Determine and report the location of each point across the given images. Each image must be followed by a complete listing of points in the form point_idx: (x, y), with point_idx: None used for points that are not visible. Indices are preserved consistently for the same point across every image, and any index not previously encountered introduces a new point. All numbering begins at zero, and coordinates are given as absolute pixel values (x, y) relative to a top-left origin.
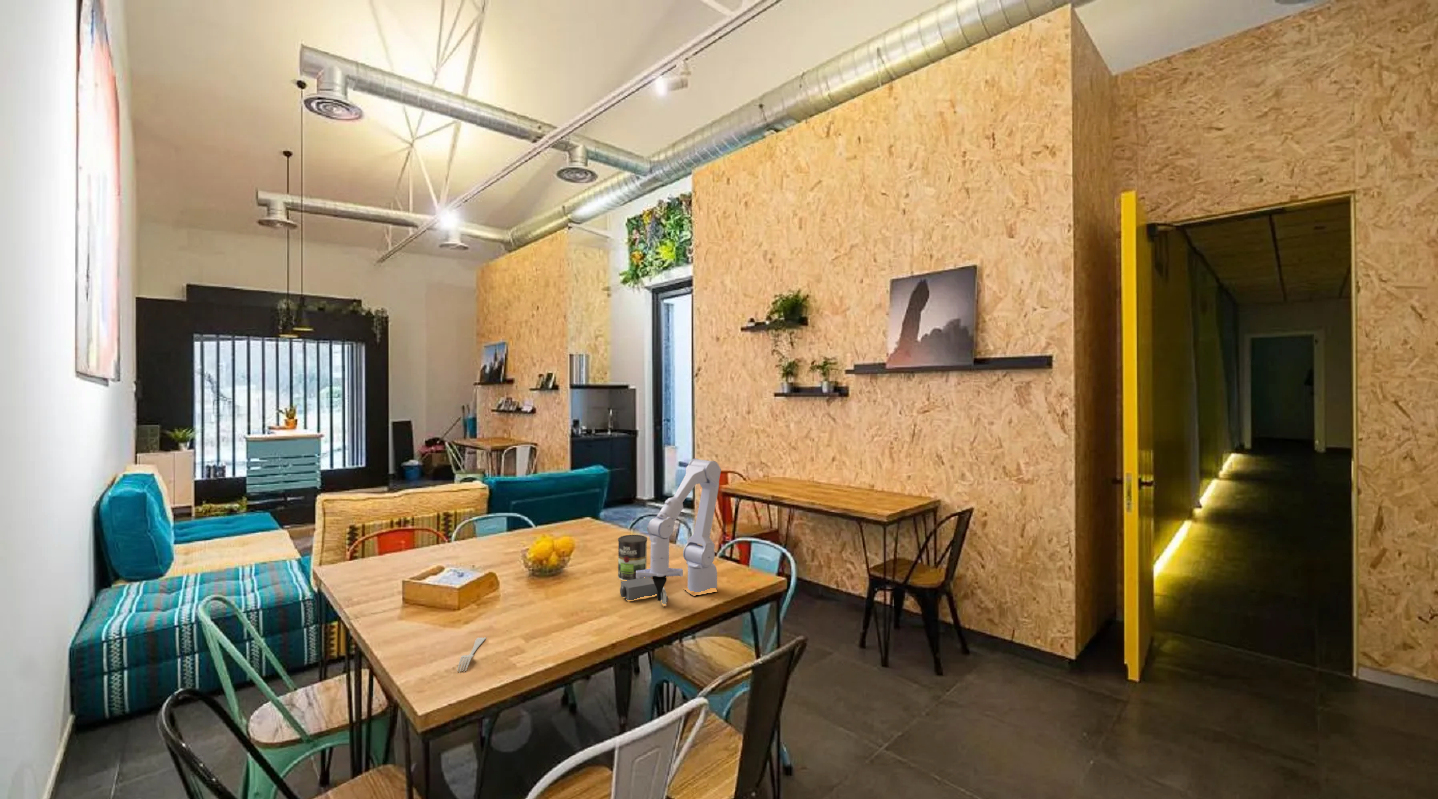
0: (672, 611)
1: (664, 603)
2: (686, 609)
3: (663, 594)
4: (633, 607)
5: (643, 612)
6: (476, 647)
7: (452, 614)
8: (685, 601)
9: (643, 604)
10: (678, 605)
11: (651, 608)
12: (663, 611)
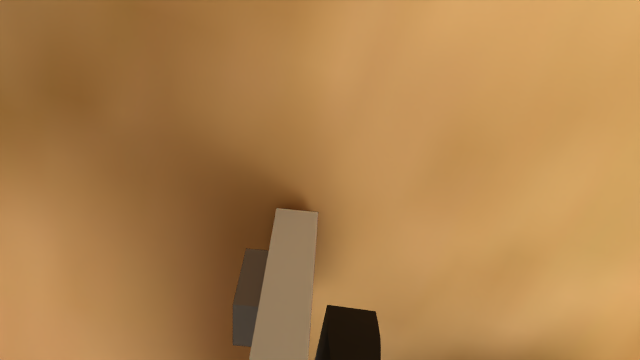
0: (218, 62)
1: (296, 240)
2: (6, 69)
3: (302, 350)
4: (635, 308)
5: (614, 152)
6: None
7: None
8: (29, 288)
9: (495, 340)
10: (115, 218)
11: (459, 232)
12: (345, 102)
